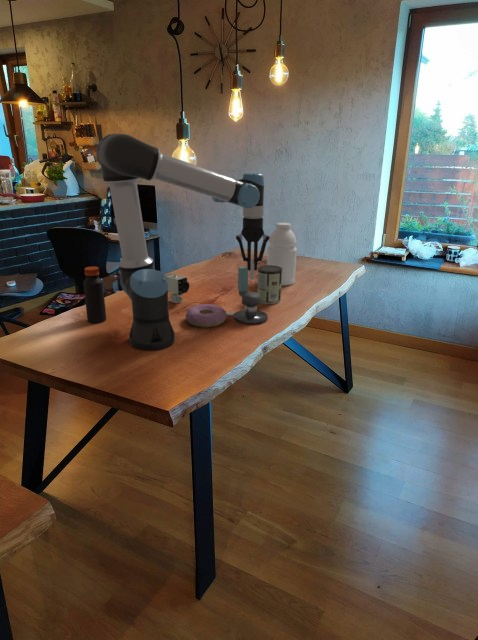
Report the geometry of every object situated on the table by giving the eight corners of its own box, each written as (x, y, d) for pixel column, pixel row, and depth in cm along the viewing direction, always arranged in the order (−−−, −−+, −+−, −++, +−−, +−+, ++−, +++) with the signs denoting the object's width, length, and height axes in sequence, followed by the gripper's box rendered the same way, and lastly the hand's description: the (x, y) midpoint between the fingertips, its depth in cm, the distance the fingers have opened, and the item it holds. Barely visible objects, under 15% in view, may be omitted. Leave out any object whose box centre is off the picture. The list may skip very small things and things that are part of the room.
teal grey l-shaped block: (263, 304, 170) (264, 275, 166) (246, 306, 168) (247, 276, 163) (248, 293, 182) (249, 265, 177) (232, 295, 179) (232, 267, 175)
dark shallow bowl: (260, 326, 166) (261, 311, 164) (219, 319, 172) (219, 304, 170) (272, 315, 177) (272, 300, 175) (233, 308, 183) (233, 294, 181)
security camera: (182, 306, 185) (181, 278, 180) (162, 300, 191) (160, 272, 187) (191, 303, 189) (191, 275, 185) (171, 297, 196) (170, 270, 191)
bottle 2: (265, 277, 226) (268, 220, 216) (293, 278, 226) (297, 221, 216) (266, 285, 213) (268, 225, 203) (295, 286, 213) (300, 226, 203)
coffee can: (266, 294, 201) (268, 263, 196) (285, 300, 194) (287, 268, 189) (251, 300, 194) (252, 268, 189) (270, 306, 187) (271, 273, 182)
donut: (185, 314, 177) (185, 302, 175) (224, 313, 179) (224, 301, 177) (186, 330, 163) (185, 317, 161) (228, 329, 164) (228, 316, 163)
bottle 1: (86, 324, 166) (80, 271, 158) (88, 317, 172) (82, 266, 165) (105, 323, 167) (100, 270, 160) (107, 316, 173) (102, 265, 166)
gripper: (269, 215, 171) (267, 275, 180) (235, 215, 171) (235, 275, 180) (271, 218, 164) (269, 281, 173) (235, 218, 164) (235, 281, 173)
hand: (252, 278), depth 176 cm, fingers closed
